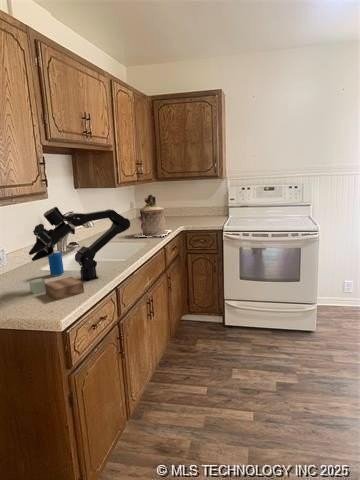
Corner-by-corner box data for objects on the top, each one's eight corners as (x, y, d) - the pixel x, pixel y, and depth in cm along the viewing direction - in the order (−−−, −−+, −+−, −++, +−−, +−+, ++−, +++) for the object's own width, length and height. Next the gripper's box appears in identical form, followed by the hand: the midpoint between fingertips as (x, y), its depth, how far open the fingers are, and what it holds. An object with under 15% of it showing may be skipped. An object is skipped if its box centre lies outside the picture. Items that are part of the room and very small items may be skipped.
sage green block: (42, 288, 159) (40, 278, 158) (46, 291, 155) (44, 280, 154) (30, 291, 156) (29, 280, 155) (34, 294, 152) (32, 283, 151)
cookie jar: (172, 232, 283) (170, 192, 277) (164, 238, 260) (161, 194, 253) (143, 232, 289) (140, 193, 283) (133, 238, 265) (129, 196, 259)
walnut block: (72, 287, 159) (71, 276, 158) (84, 293, 150) (83, 282, 149) (46, 294, 151) (44, 283, 150) (56, 301, 142) (55, 289, 141)
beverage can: (65, 272, 183) (62, 250, 180) (61, 276, 176) (58, 253, 174) (53, 273, 183) (50, 250, 180) (49, 277, 176) (45, 253, 174)
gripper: (47, 228, 166) (20, 251, 160) (43, 213, 149) (13, 237, 143) (64, 244, 166) (38, 267, 159) (62, 230, 149) (33, 256, 142)
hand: (30, 257), depth 151 cm, fingers open, 9 cm apart
